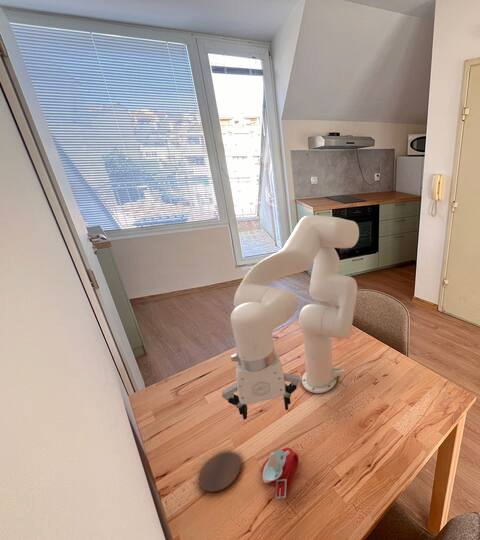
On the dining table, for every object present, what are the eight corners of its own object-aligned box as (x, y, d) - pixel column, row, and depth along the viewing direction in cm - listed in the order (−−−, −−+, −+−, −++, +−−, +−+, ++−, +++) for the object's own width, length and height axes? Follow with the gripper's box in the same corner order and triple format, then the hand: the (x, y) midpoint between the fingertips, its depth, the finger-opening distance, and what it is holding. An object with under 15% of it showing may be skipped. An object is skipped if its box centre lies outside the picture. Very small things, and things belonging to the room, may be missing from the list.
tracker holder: (252, 470, 77) (282, 438, 83) (260, 480, 79) (288, 447, 85) (276, 499, 69) (307, 461, 75) (284, 509, 71) (314, 471, 77)
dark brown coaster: (242, 450, 83) (242, 448, 83) (239, 487, 75) (238, 485, 74) (204, 458, 81) (203, 456, 81) (195, 498, 72) (195, 496, 72)
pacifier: (259, 486, 73) (281, 485, 71) (248, 473, 70) (270, 471, 69) (269, 456, 79) (289, 454, 78) (259, 442, 76) (280, 440, 75)
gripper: (211, 376, 59) (226, 432, 66) (298, 360, 63) (303, 414, 71) (216, 351, 65) (230, 405, 73) (295, 338, 70) (300, 390, 77)
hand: (266, 409), depth 72 cm, fingers open, 9 cm apart
